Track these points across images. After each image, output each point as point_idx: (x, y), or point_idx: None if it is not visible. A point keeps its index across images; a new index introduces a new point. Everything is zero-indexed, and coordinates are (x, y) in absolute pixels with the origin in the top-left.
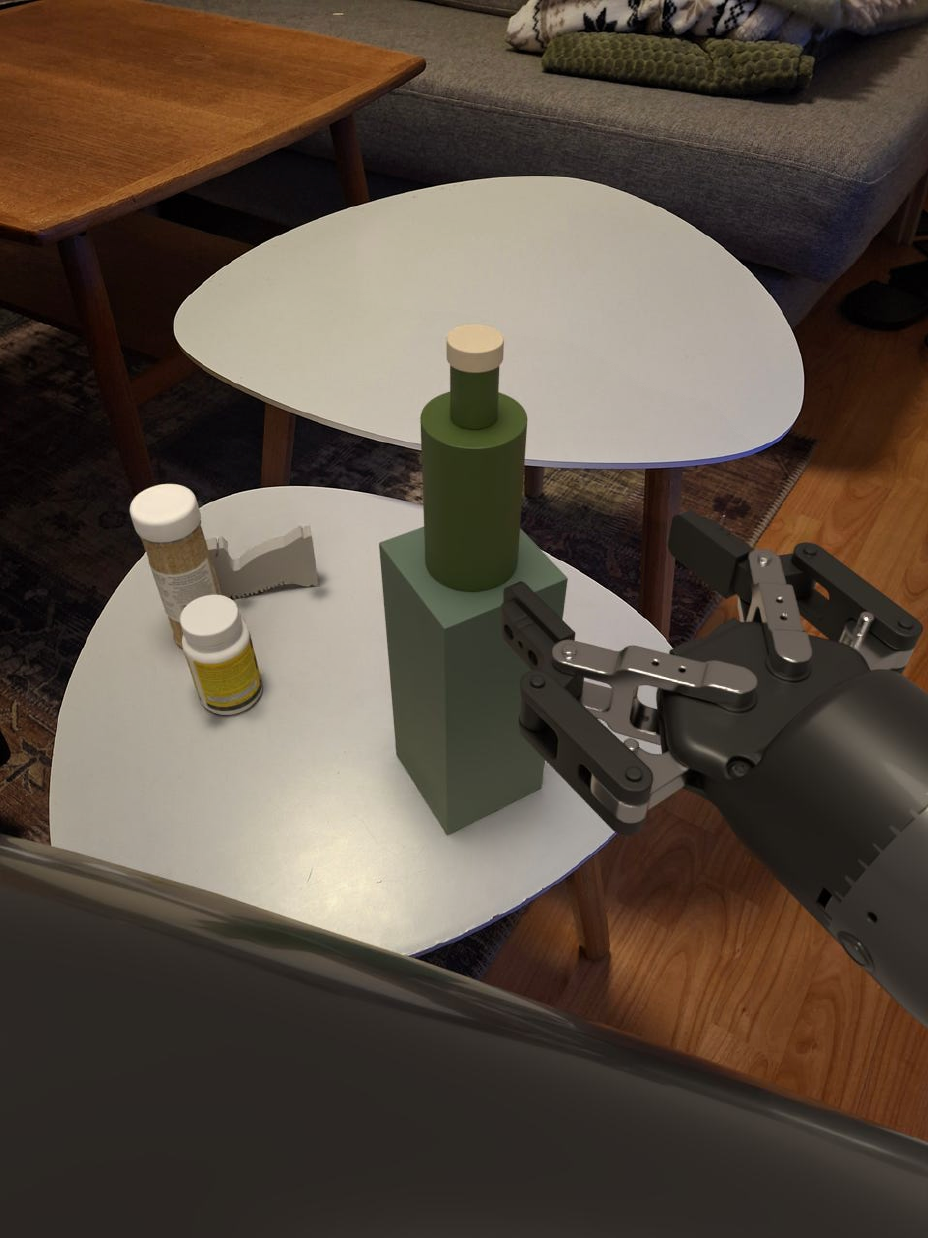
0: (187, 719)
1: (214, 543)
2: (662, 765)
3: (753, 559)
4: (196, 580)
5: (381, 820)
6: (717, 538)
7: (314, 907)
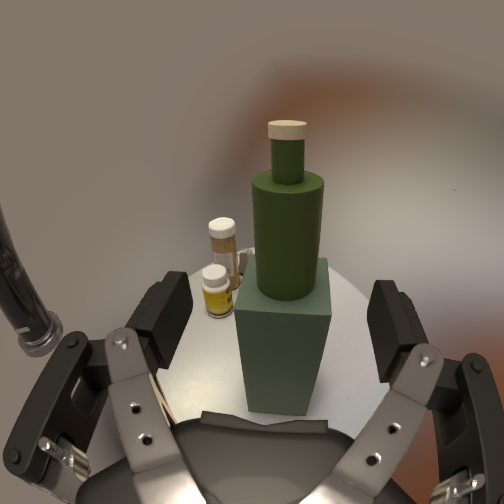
0: (199, 310)
1: (246, 251)
2: (67, 484)
3: (415, 354)
4: (224, 259)
5: (229, 388)
6: (396, 315)
7: (179, 401)
